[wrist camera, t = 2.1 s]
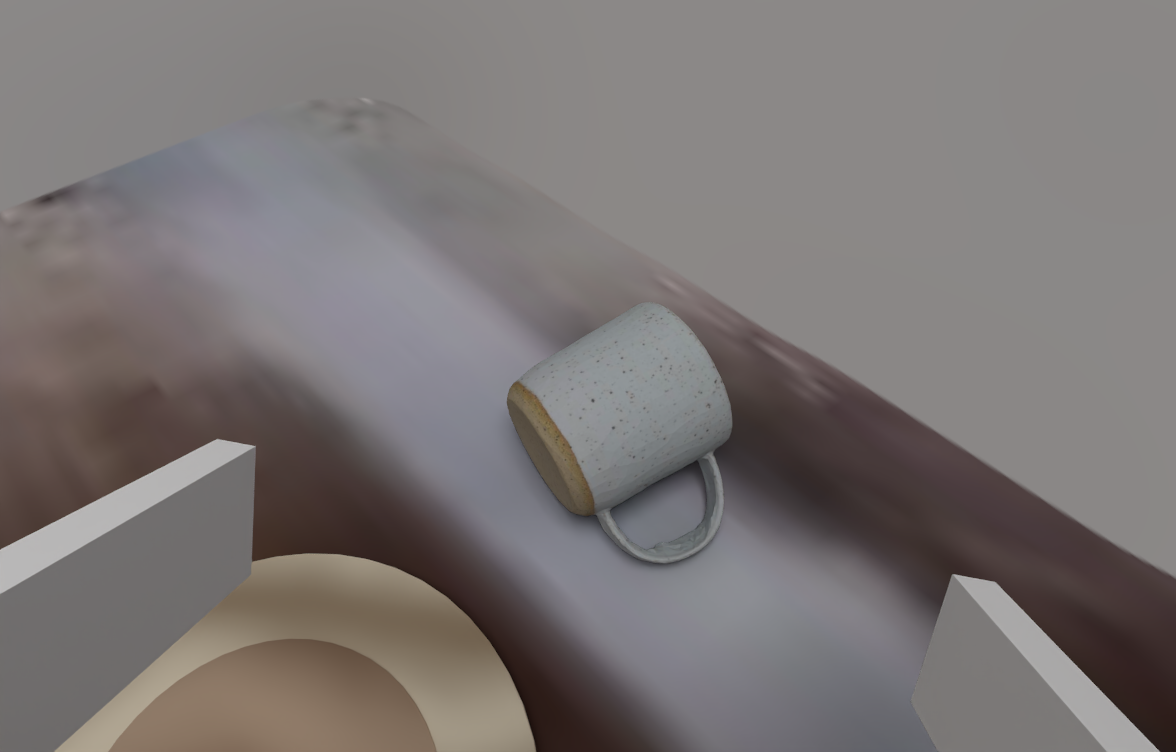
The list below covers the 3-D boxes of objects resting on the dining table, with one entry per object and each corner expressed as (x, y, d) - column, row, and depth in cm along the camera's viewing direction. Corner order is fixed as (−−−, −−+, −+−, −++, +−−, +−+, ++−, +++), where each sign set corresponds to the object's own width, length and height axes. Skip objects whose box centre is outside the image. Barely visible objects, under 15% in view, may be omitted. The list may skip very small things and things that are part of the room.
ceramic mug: (501, 430, 33) (488, 349, 27) (630, 357, 36) (646, 266, 29) (621, 609, 29) (641, 566, 23) (757, 512, 32) (810, 448, 25)
